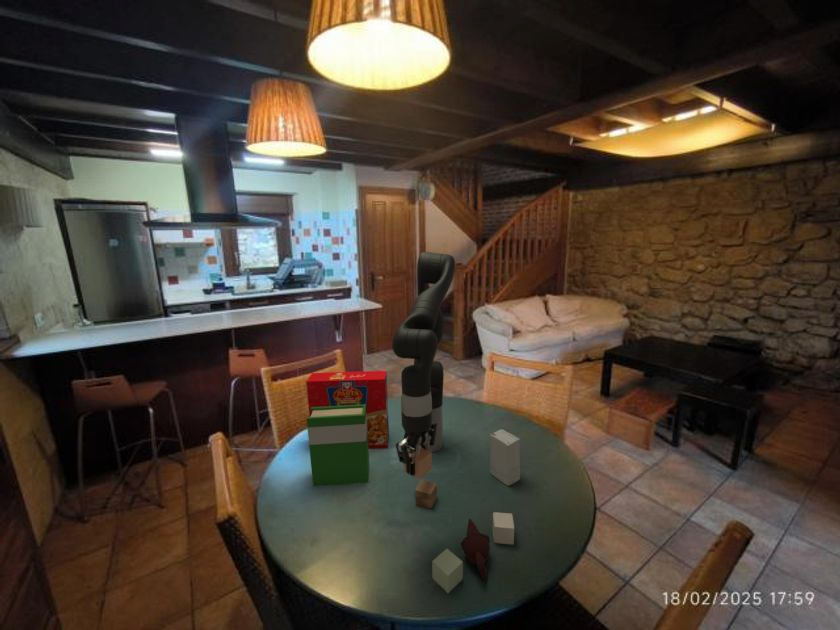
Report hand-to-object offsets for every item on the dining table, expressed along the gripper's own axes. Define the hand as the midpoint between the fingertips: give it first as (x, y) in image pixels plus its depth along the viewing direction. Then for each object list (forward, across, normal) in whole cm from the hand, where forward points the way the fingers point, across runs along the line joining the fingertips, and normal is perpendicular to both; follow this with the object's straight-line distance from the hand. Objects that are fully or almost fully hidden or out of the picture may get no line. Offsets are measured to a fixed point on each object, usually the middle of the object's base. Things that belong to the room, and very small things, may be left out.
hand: (417, 468), depth 92 cm
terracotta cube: (+1, 0, 0) cm, 1 cm away
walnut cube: (+20, -11, -6) cm, 24 cm away
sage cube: (+20, +6, +13) cm, 25 cm away
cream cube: (+20, -13, +18) cm, 30 cm away
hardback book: (+21, -3, -35) cm, 41 cm away
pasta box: (+21, -18, -47) cm, 54 cm away
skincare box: (+21, -35, +8) cm, 41 cm away
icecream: (+20, -3, +15) cm, 26 cm away
